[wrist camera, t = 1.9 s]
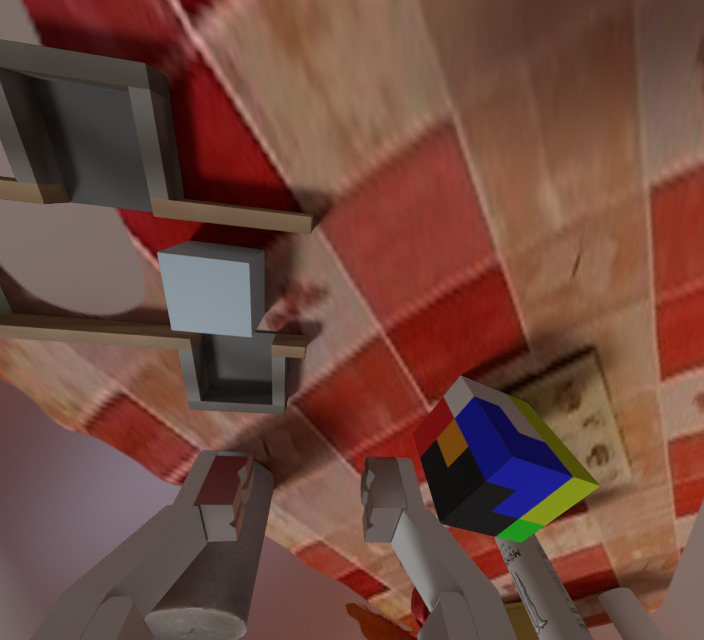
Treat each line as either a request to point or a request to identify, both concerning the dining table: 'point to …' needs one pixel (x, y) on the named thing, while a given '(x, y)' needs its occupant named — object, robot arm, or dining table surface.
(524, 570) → the energy drink can
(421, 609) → the pomegranate
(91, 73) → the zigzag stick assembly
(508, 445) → the puzzle toy
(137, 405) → the dining table surface
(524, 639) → the picnic basket
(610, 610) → the cylindrical container
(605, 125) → the dining table surface
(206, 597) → the pillar candle
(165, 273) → the block
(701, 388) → the dining table surface
